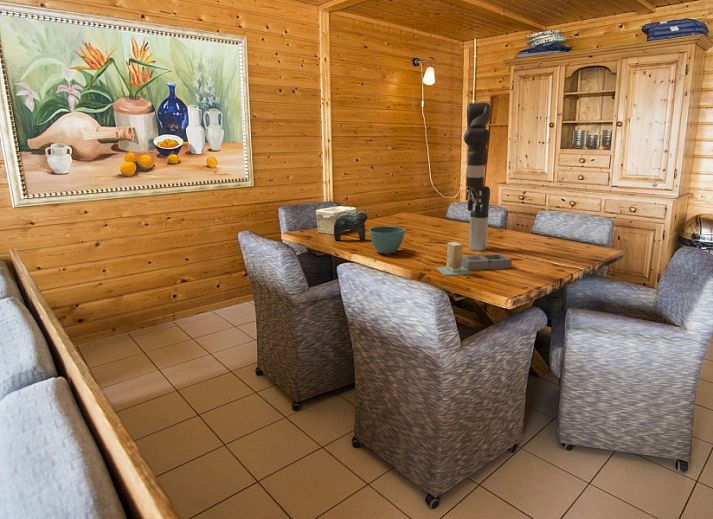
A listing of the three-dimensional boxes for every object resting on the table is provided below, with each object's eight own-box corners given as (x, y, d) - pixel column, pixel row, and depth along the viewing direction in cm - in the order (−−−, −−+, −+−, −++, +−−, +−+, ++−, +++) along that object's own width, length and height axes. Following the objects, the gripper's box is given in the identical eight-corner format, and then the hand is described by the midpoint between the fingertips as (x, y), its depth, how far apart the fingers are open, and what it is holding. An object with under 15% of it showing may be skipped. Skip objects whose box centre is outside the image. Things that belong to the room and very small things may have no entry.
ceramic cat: (367, 239, 290) (367, 205, 285) (367, 241, 284) (367, 207, 279) (334, 239, 291) (333, 205, 286) (333, 241, 284) (332, 207, 279)
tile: (436, 268, 224) (436, 267, 224) (461, 267, 226) (461, 266, 226) (444, 275, 213) (444, 274, 213) (471, 274, 215) (471, 272, 215)
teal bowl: (407, 249, 263) (407, 226, 260) (400, 257, 246) (401, 233, 243) (374, 247, 268) (374, 225, 265) (365, 255, 251) (365, 232, 248)
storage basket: (339, 227, 329) (339, 205, 326) (358, 229, 320) (358, 207, 316) (315, 233, 311) (314, 209, 308) (334, 235, 301) (334, 212, 298)
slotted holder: (458, 264, 232) (459, 255, 231) (500, 261, 235) (500, 253, 234) (467, 270, 221) (468, 261, 220) (511, 267, 224) (511, 259, 223)
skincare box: (445, 268, 222) (446, 242, 219) (454, 268, 223) (455, 241, 220) (453, 272, 216) (454, 245, 213) (461, 271, 217) (462, 244, 214)
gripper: (461, 174, 221) (460, 210, 225) (473, 177, 208) (471, 215, 212) (477, 173, 222) (475, 209, 226) (489, 177, 209) (488, 214, 213)
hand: (473, 212), depth 219 cm, fingers open, 8 cm apart
